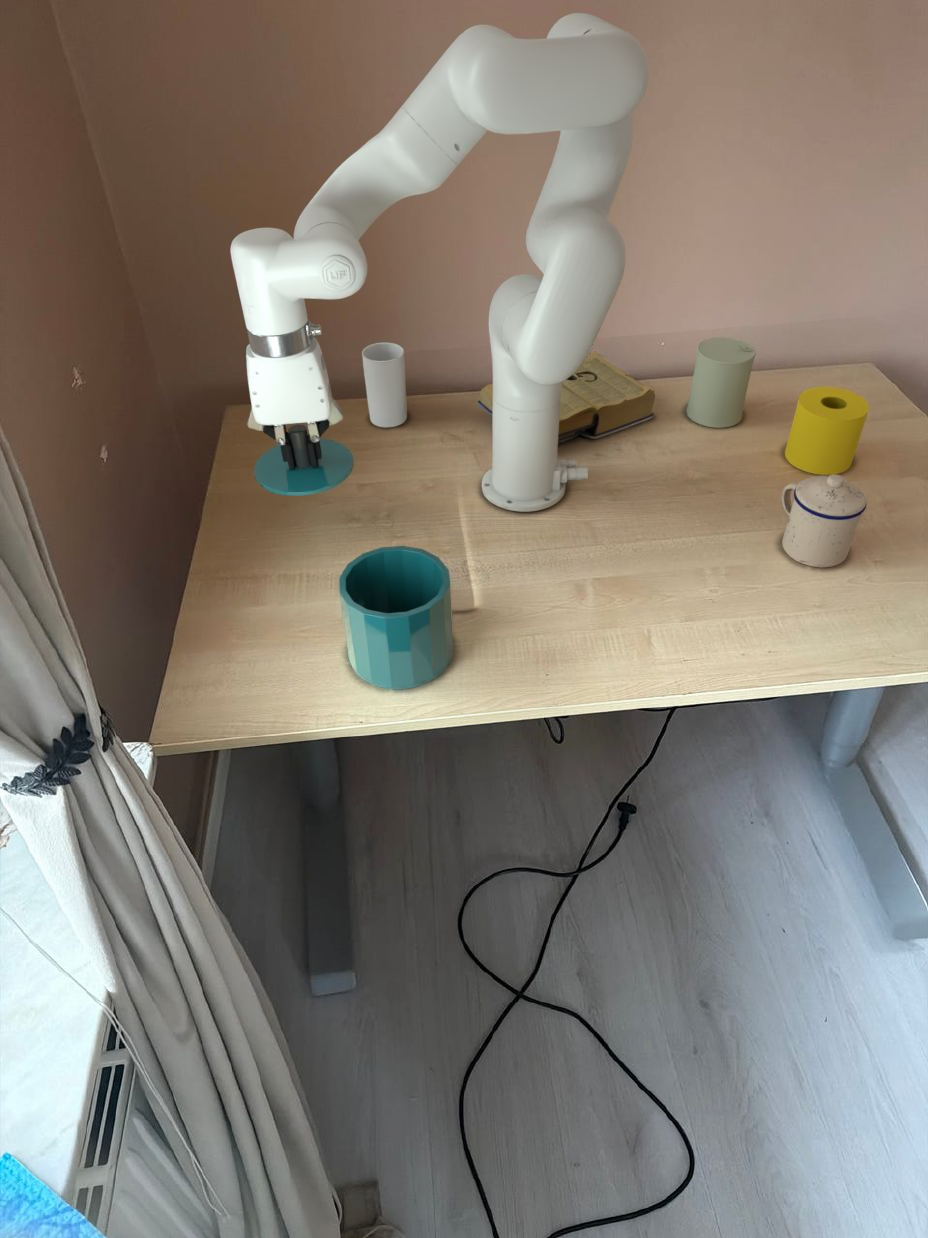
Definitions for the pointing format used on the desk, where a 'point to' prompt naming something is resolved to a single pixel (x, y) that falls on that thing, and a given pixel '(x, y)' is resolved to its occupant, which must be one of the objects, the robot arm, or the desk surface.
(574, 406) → the book
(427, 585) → the pot
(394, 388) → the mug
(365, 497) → the desk surface
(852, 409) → the yellow toilet paper roll
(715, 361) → the can
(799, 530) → the teacup with lid
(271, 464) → the lid
